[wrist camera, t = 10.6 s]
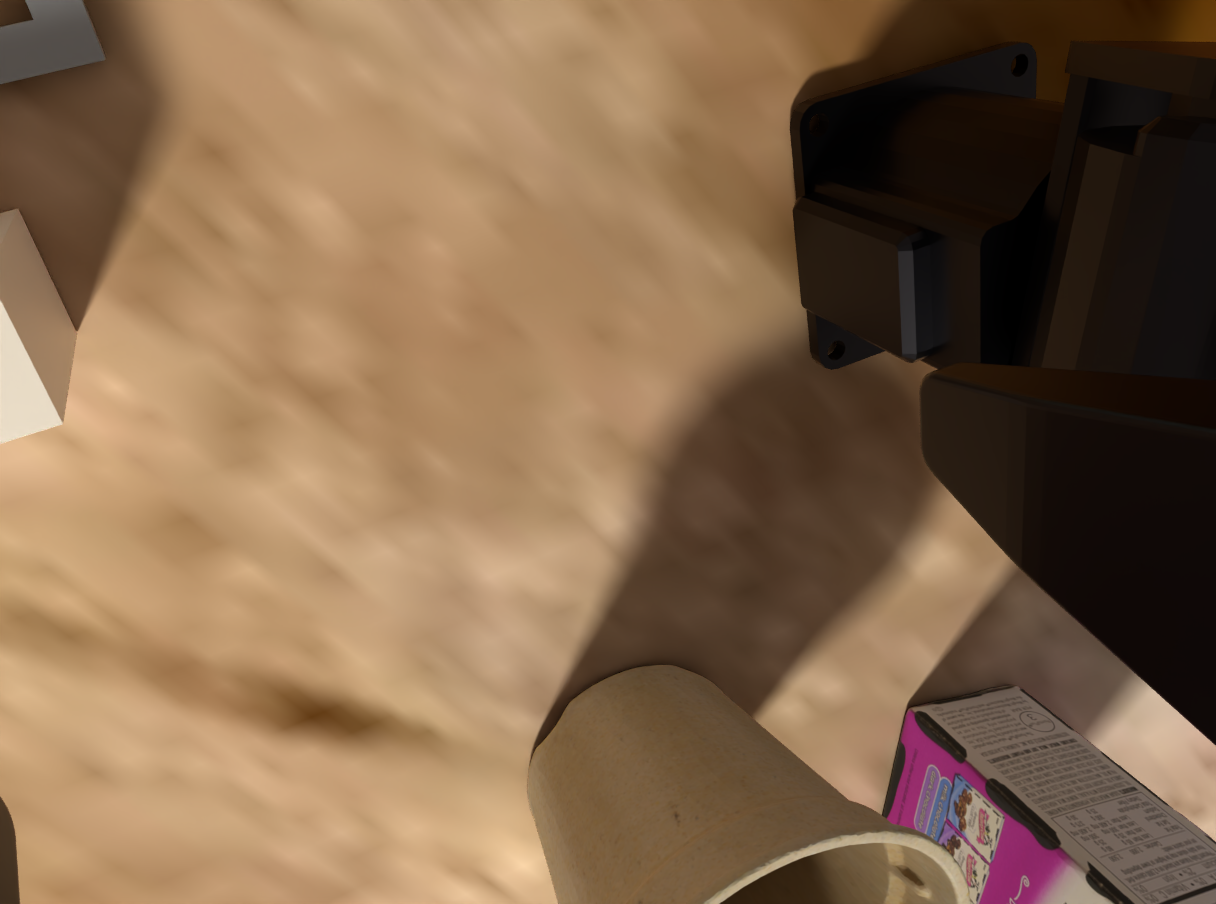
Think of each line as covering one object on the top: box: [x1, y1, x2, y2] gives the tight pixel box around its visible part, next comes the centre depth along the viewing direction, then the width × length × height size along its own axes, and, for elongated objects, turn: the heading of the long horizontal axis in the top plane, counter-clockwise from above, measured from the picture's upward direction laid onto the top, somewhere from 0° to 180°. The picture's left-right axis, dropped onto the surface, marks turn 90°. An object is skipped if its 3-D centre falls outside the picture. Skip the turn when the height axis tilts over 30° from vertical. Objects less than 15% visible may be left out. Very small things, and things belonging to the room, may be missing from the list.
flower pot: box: [527, 665, 972, 904], centre depth 25 cm, size 9×9×9 cm
